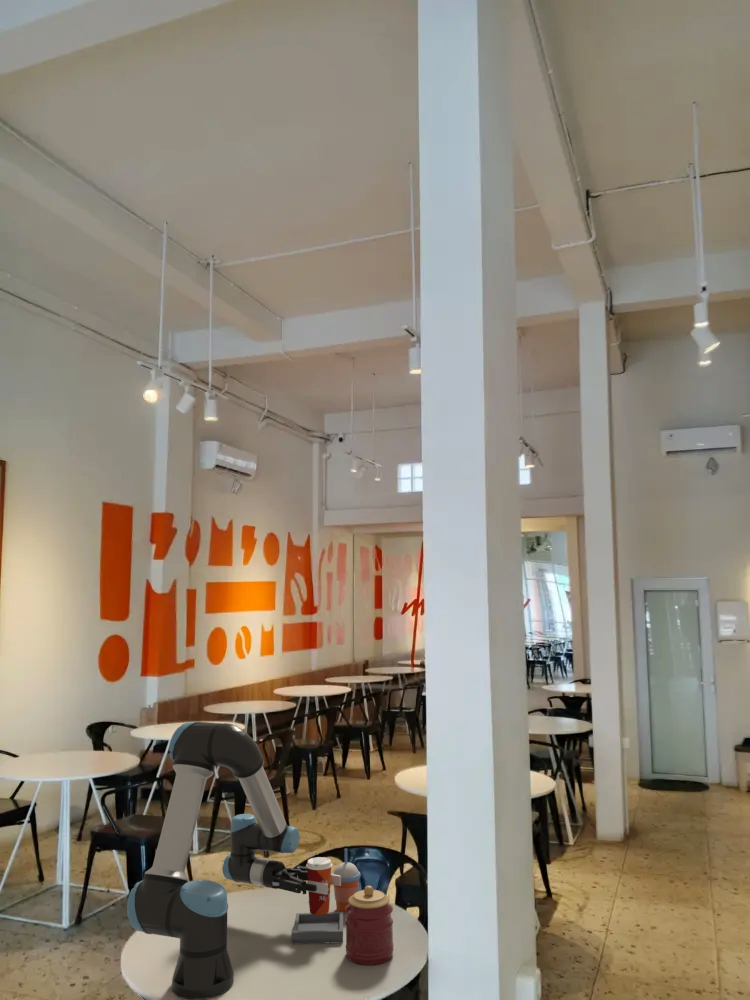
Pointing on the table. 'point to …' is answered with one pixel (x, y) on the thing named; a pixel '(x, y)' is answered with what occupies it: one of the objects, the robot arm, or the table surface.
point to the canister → (369, 927)
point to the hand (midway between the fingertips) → (333, 884)
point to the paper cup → (320, 873)
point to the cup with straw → (346, 883)
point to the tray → (318, 928)
